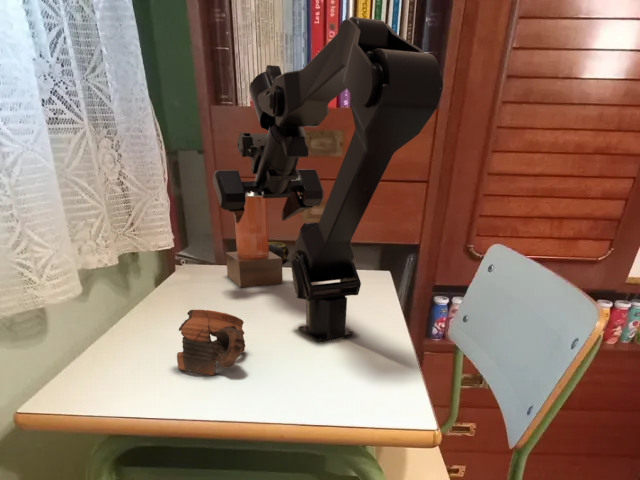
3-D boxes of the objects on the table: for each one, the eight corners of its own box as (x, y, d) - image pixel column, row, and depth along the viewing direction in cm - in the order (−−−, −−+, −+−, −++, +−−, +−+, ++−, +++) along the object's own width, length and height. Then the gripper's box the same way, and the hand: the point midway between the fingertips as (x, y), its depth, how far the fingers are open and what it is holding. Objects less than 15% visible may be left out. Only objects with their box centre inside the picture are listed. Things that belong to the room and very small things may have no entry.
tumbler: (270, 258, 96) (267, 189, 89) (237, 259, 95) (233, 189, 88) (267, 251, 101) (265, 185, 95) (236, 252, 100) (232, 185, 94)
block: (282, 283, 99) (282, 258, 96) (240, 287, 96) (239, 261, 93) (267, 272, 106) (266, 249, 103) (227, 276, 102) (225, 252, 100)
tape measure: (254, 262, 113) (253, 246, 111) (266, 256, 119) (265, 240, 117) (281, 265, 111) (281, 248, 109) (292, 259, 117) (292, 243, 115)
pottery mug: (159, 367, 65) (168, 306, 64) (218, 378, 72) (226, 323, 71) (209, 373, 57) (220, 303, 56) (270, 385, 64) (279, 323, 63)
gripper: (318, 115, 81) (293, 182, 95) (209, 111, 74) (199, 184, 88) (338, 171, 79) (309, 231, 94) (228, 173, 72) (215, 237, 86)
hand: (260, 219), depth 91 cm, fingers open, 9 cm apart
